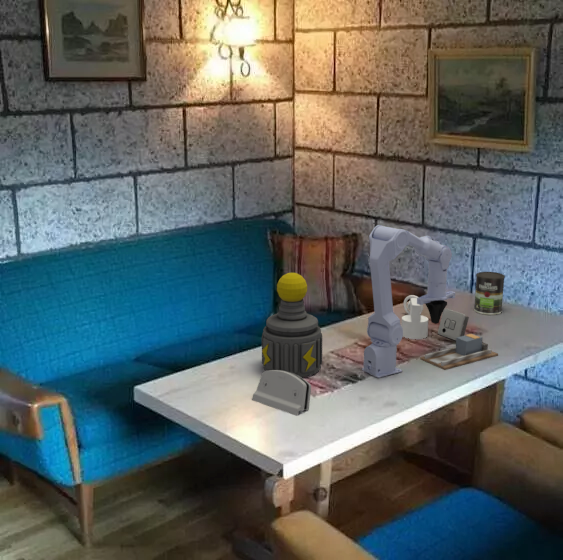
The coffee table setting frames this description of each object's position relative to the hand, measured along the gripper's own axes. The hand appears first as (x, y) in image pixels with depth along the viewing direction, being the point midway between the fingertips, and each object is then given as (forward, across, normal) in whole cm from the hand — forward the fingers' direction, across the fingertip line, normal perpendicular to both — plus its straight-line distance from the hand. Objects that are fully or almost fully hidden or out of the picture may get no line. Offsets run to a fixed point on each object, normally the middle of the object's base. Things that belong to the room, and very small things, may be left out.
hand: (435, 322), depth 250 cm
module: (+9, +8, -8) cm, 14 cm away
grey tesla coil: (+10, -46, +13) cm, 49 cm away
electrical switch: (+10, +16, +8) cm, 21 cm away
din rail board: (+10, +4, -8) cm, 13 cm away
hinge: (+10, -62, -8) cm, 64 cm away
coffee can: (+10, +48, +22) cm, 54 cm away
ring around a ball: (+10, +21, +33) cm, 40 cm away
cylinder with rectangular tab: (+10, +6, +16) cm, 20 cm away
